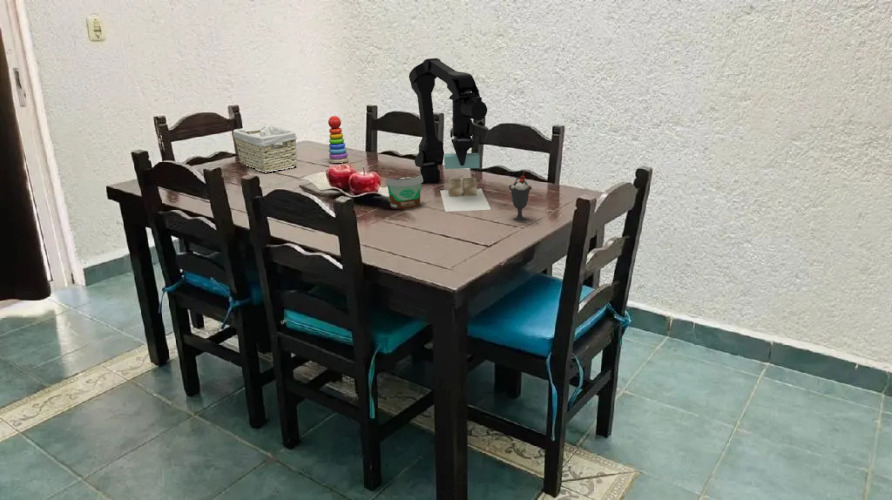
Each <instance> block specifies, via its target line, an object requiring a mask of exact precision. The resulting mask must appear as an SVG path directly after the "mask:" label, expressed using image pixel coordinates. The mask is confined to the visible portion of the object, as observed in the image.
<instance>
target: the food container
mask: <svg viewBox="0 0 892 500" xmlns="http://www.w3.org/2000/svg"><path fill="white" fill-rule="evenodd" d="M422 182H423V178H422V175H421V173H420V172H419V174H418V175H414V176H402V177H398V178H395V179H394V178H390V177H389V178H388V177H386V179H385V184H384V185H386V186H387V190H388V196H389V204H390V209H392V210H395V209H397V210H411V209H412V210H413V209H416V208H418V207H420V206H421V191H422V190H421V189H422V184H421V183H422Z"/></svg>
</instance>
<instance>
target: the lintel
mask: <svg viewBox="0 0 892 500" xmlns="http://www.w3.org/2000/svg"><path fill="white" fill-rule="evenodd" d="M480 159H481V158H480V154H479V152H467V155H466V159H465V164H464V166H461V165H460V162H459V160H458V157H457V155H456V153H444V158H443V163H444V169H445V170H457V169H459V170H460V169H462V170H463V169H480V165H481V164H480Z"/></svg>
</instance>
